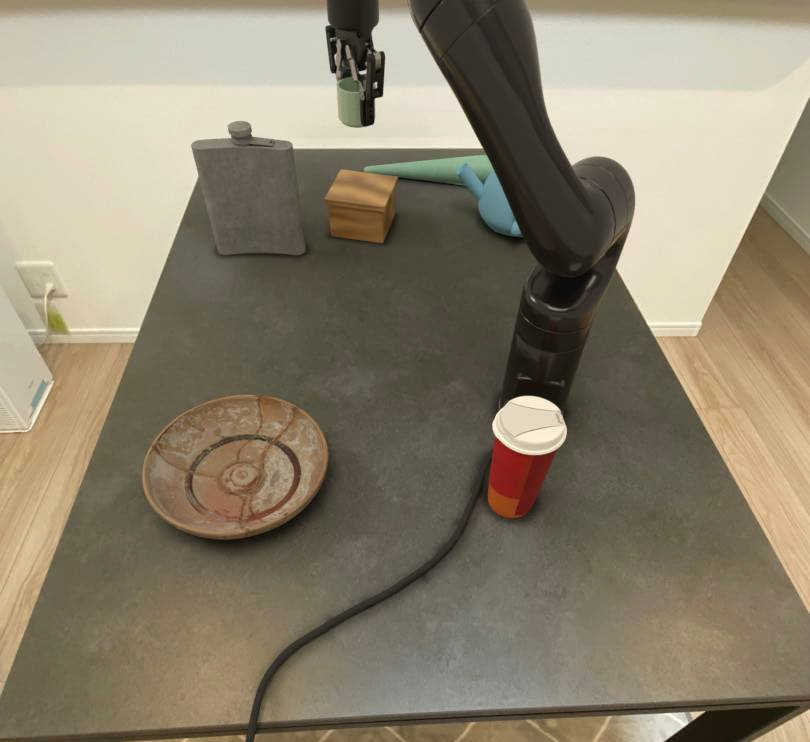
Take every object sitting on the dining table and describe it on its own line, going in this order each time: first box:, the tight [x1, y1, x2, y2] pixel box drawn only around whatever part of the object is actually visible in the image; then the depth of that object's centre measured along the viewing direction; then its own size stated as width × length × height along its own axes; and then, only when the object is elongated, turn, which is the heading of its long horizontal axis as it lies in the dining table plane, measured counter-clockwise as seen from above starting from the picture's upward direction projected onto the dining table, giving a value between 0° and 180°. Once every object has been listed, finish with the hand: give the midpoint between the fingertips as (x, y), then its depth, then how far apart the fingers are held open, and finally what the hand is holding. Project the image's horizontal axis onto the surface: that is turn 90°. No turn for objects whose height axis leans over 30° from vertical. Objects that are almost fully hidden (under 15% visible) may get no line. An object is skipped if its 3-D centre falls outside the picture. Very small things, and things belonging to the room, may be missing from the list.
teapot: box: [456, 163, 523, 238], centre depth 111 cm, size 20×20×13 cm
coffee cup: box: [487, 396, 568, 519], centre depth 73 cm, size 8×8×15 cm
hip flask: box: [190, 120, 307, 256], centre depth 101 cm, size 16×4×20 cm, turn 91°
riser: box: [323, 168, 399, 244], centre depth 111 cm, size 11×11×7 cm
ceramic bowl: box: [141, 394, 329, 541], centre depth 78 cm, size 23×24×5 cm
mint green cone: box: [363, 154, 493, 187], centre depth 122 cm, size 5×6×27 cm
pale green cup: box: [335, 77, 376, 129], centre depth 97 cm, size 6×6×5 cm
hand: (357, 116), depth 98 cm, fingers closed on pale green cup, 6 cm apart
